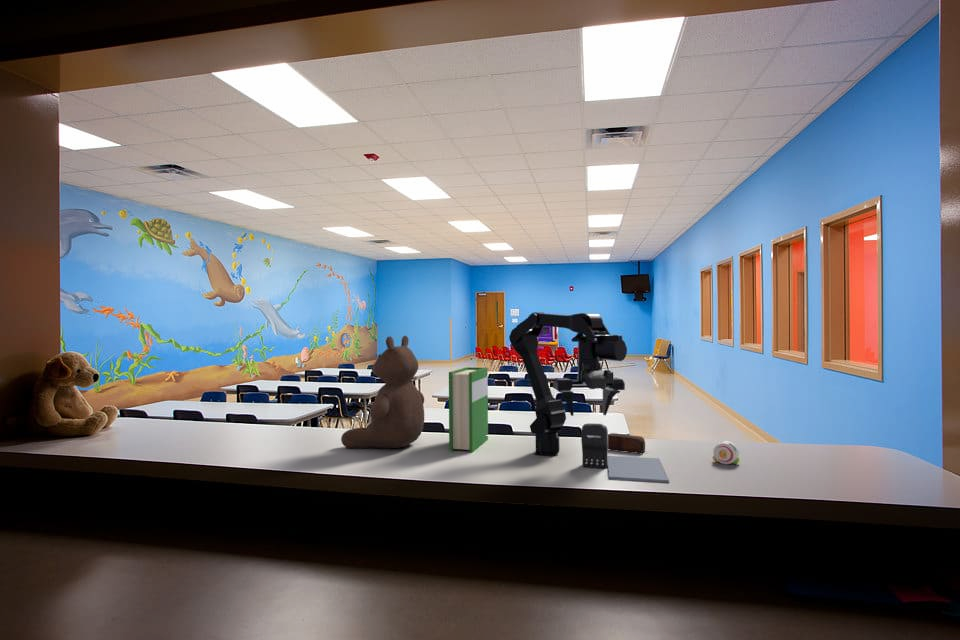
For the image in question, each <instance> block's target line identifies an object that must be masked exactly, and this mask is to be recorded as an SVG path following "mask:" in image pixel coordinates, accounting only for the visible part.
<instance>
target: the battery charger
mask: <svg viewBox="0 0 960 640" xmlns="http://www.w3.org/2000/svg"><path fill="white" fill-rule="evenodd" d="M581 427H582V428H581V431H580V432H581V433H580V434H581V437H580V439H581V441H580V443H581V452H582V453H581V455H582V457H581V459H582V461H581V463H582V466H583V467H587V468H593V467H596V469H606V468H608V456H609V455H608V453H609V452H608V451H609V450H608V435H609V430H608V427H607V425H606V424H603V423H595V422H593V423H592V422H586V423H584V424H583V425H582V426H581Z"/></svg>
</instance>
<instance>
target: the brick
mask: <svg viewBox="0 0 960 640" xmlns="http://www.w3.org/2000/svg"><path fill="white" fill-rule="evenodd" d="M608 449H610V450H609V451H613V450H618V451H617V452H621V451H627V452H626V453H631V452H637V453H636V454H640V453H642V452H645V451H646V441H645V438H644V436H640V435H630V434H622V433H617V432H611V433H608ZM642 454H643V453H642Z"/></svg>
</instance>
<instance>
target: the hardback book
mask: <svg viewBox="0 0 960 640" xmlns="http://www.w3.org/2000/svg"><path fill="white" fill-rule="evenodd" d="M488 376H489V375H488V367H476V366H475V367H473V366H471V367H469V366H467V367H466V366H465V367H461V368H458V369H455V370H452V371H448V433H449V434H448V440H449V441H448V451H449V452H453V451H455V450H467V451H468V450H469V453H472V454H473V453H474V452H475V451H477V450H478V449H479V448H480V447H482V445H483V444H485V443H486V442H487V441H488V440H489V407H488V406H489V405H488V404H489V401H488V400H489V398H488V390H489V389H488V388H489V386H488V382H489V380H488V378H489V377H488ZM486 435H488V436H486Z"/></svg>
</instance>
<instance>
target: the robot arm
mask: <svg viewBox="0 0 960 640" xmlns="http://www.w3.org/2000/svg"><path fill="white" fill-rule="evenodd" d="M544 327H551V328H553V327H555V328H562V329H568V330H569V331H571V332H574V333H576V334H575V336H574V337H572V339H571V342H572V343H573V342H575V343H577V361H576V366H577V376H576V380H572V379H570V378H568V377H555V378H554V379H553V382H552V389H554V390H556V391H557V392H558V393H560V394H561V395H562V397H563V398H564V400H565V403H566V406H567V408H568V411H569V413H570V416H571V417H573V416H574V400H573V399H574V398H573V395H574V391H573V390H572V389H573V388H588V389H590V390H595V389H598V390H599V389H601V390H602V414H603V416H607V413H608V411H609V408H610V405H611V404H612V400H613V398H614V397H615V396H616V395H617V394H620V392H621V391H625V390H626V383H625V381H624V379H622V378H619V377H614V371H613V370H612V369H605V370H603V369H602V363H601V362H600V360H602V361H603V360H604V361H615V362H623V360H625V359H626V356H627V355H628V354H627V353H628V347H627V344H626V342H625V340H623V335H622V334H613V335H612V334H611V333H610V331H609V329H607V327H606V326H605V323H604V320H603V318H602V317H601V314H599V313H596V312H594V313H593V312H592V313H591V312H590V313H589V312H587V313H586V312H580V313H575V314H570V315H568V314H558V313H557V314H555V313H545V312H540V311H538V312H532V313H530V314H529V315H528V317H526V319H524V320H522V321H521V322H520V323H518V324H517V325H516V326H515V327H514V328H512V330H511V331H510V334H509V336H508V337H509V338H508V339H509V341H510V344H511V346H512V349H513V350H514V351H515V352H516V353H517V354H518V355H519V356H520V357H521V359H522V362H523V364H524V365H523V366H524V368H525V371H526V373H527V376H528V379H529V383H530V385H531V388H532V391H533V395H534V398H535V399H536V400H535V401H536V405H535V410H534V411H535V419H534V420H533V421H532V423H530V425H529V429H530V432H531V434H535V451H534V455H537V456H558V453H560V444H561V443H560V442H561V441H560V436H558V432H562V430H563V427H564V424H565V422H566V420H567V414H566V413H567V411H566V409H565V406H564V402H563V401H562V399H556V398H555V397H554V396H553V394H552V391H551V387H550V385H549V382H548V380H547V377H546V373H545V371H544V367H543V365H542V362H541V360H540V357H539V355H538V347H539V340H538V338H539V337H540V336H541V334H542V333H543V329H544Z"/></svg>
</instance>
